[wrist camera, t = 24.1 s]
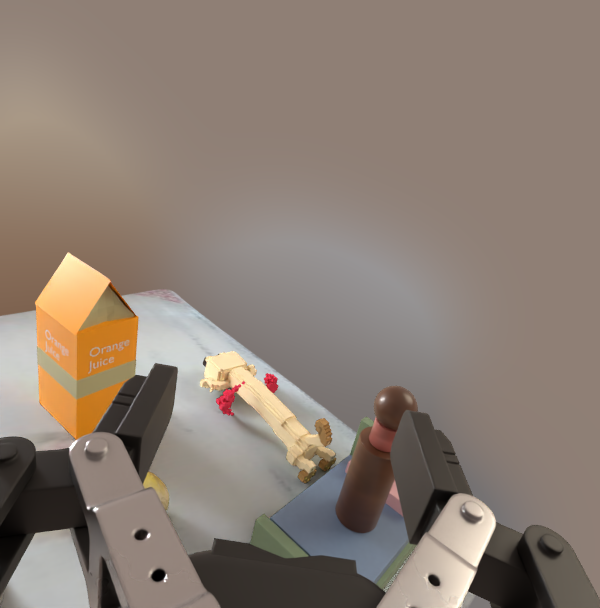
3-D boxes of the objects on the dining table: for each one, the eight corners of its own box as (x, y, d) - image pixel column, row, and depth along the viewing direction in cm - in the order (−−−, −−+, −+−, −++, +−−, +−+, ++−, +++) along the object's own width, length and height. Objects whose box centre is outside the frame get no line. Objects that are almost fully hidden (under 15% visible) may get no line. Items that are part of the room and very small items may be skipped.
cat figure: (340, 467, 60) (234, 359, 75) (361, 418, 56) (245, 315, 71) (285, 500, 54) (180, 374, 68) (305, 448, 50) (189, 326, 64)
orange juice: (95, 381, 64) (98, 248, 56) (133, 414, 60) (142, 274, 51) (37, 403, 58) (32, 257, 50) (74, 441, 53) (75, 287, 45)
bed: (248, 547, 46) (262, 490, 43) (350, 464, 60) (366, 416, 56) (342, 643, 40) (366, 585, 36) (431, 525, 53) (455, 475, 50)
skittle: (326, 511, 48) (367, 385, 41) (351, 489, 51) (392, 370, 44) (362, 541, 45) (412, 413, 39) (385, 516, 49) (435, 394, 42)
